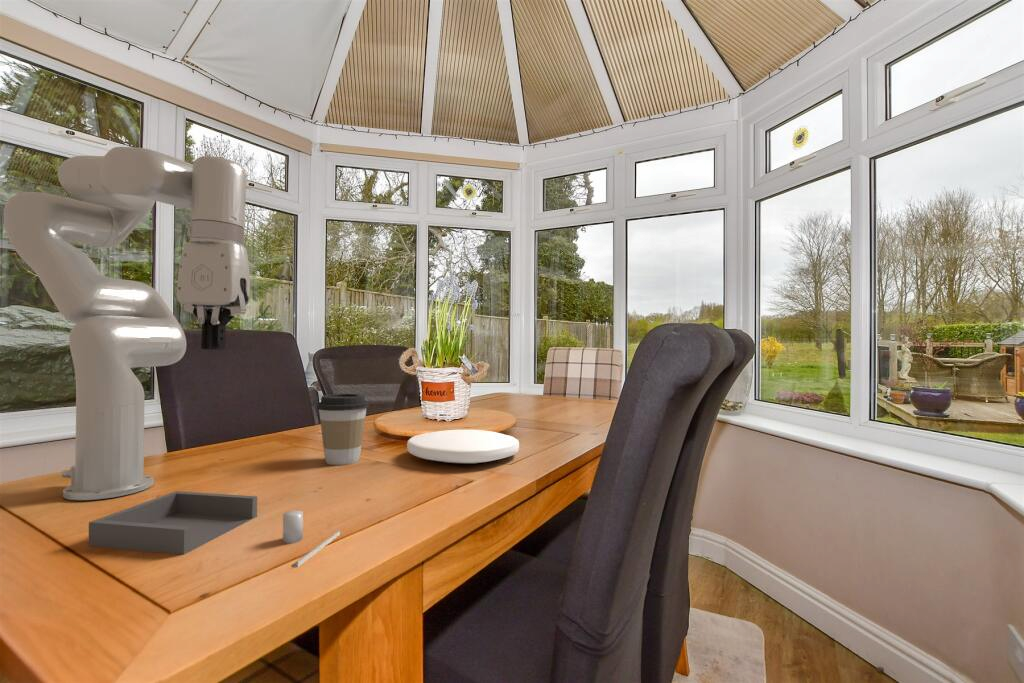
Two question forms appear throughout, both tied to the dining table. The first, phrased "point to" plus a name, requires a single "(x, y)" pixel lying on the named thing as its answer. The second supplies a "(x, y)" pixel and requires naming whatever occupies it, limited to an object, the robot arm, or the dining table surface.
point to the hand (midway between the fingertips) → (213, 349)
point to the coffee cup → (342, 427)
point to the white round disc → (463, 446)
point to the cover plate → (300, 533)
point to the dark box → (173, 522)
